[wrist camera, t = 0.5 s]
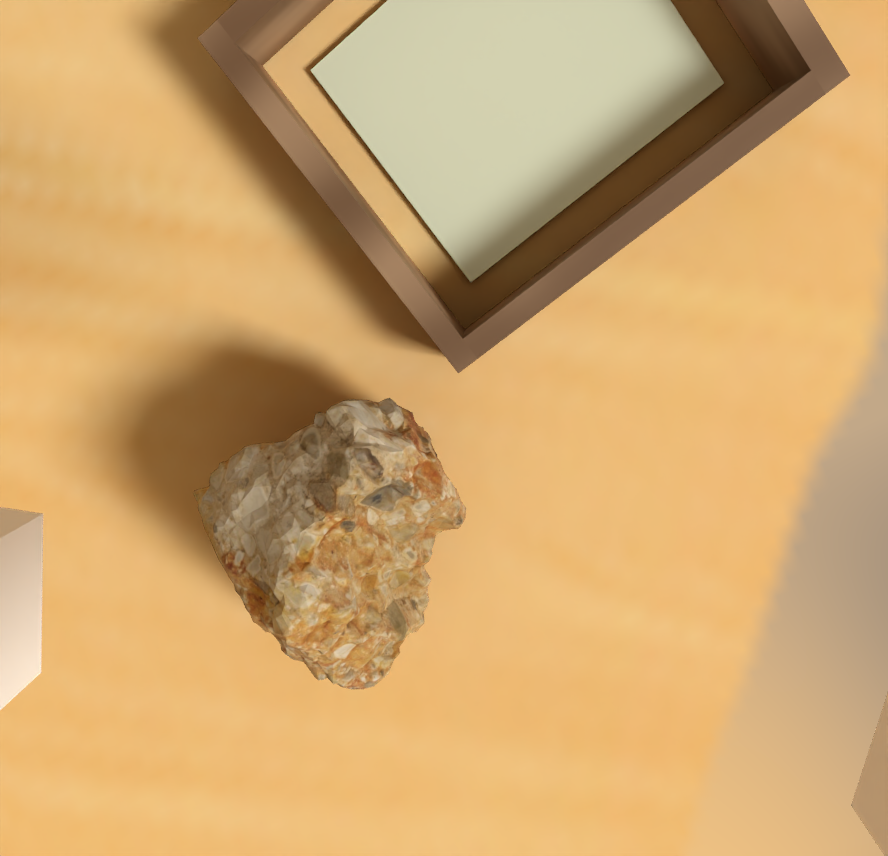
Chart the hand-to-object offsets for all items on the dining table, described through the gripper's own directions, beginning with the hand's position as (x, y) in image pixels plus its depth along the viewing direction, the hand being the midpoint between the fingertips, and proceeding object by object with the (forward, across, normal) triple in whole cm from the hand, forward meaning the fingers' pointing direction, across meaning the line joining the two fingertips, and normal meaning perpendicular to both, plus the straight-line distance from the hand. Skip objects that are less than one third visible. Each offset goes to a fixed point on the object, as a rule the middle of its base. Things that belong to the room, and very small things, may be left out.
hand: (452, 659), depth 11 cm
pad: (+23, 0, +13) cm, 26 cm away
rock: (+23, -4, -6) cm, 24 cm away
